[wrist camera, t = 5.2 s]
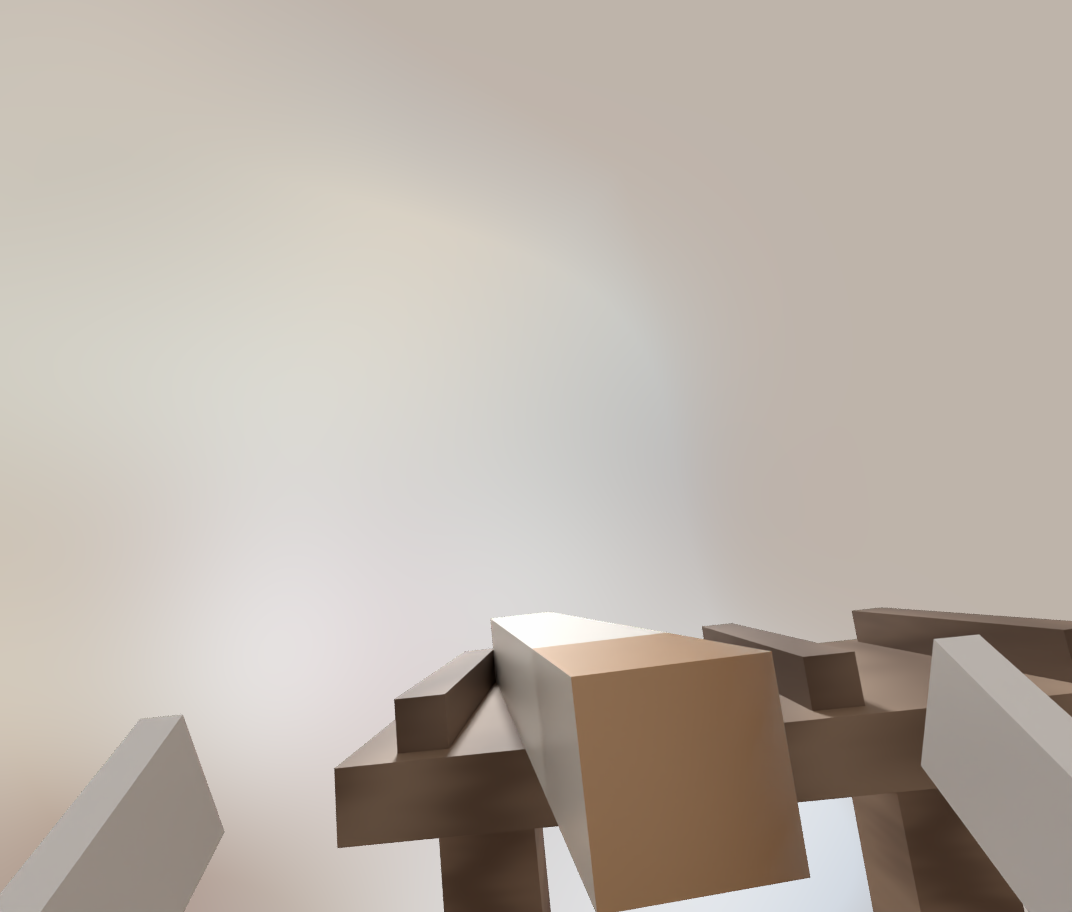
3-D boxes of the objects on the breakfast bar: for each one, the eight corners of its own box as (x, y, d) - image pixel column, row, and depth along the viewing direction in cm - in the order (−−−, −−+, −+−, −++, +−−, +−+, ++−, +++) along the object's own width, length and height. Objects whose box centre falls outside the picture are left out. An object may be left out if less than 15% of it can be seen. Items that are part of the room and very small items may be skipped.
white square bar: (597, 915, 8) (570, 677, 9) (496, 681, 32) (490, 618, 32) (809, 877, 9) (772, 651, 9) (556, 673, 32) (549, 611, 33)
